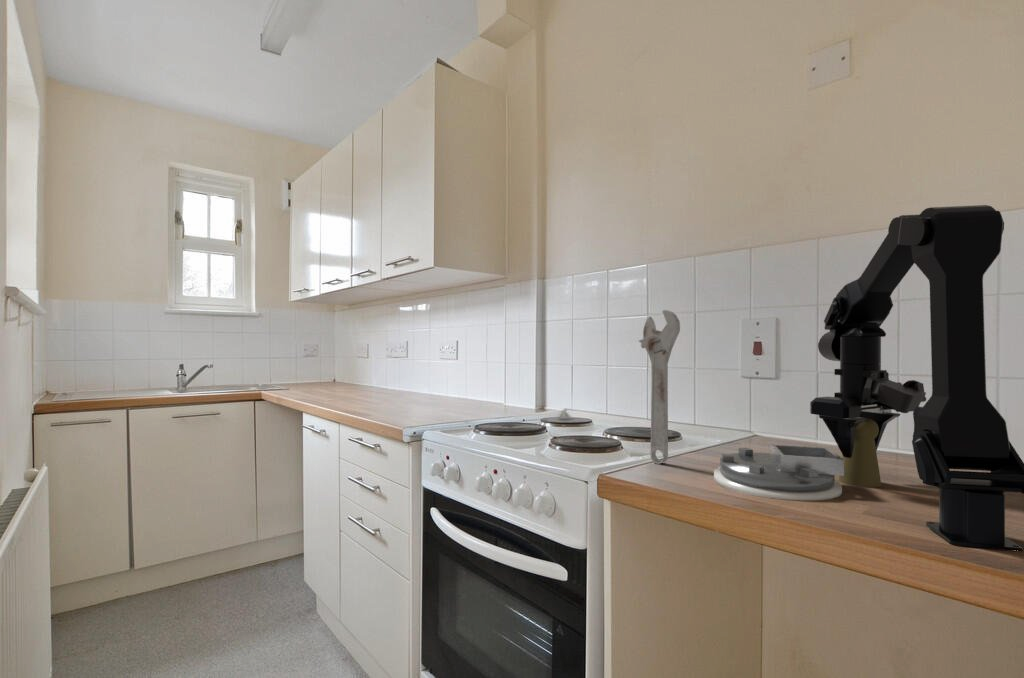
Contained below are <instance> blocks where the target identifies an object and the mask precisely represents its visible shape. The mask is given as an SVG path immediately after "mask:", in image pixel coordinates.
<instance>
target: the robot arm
mask: <svg viewBox="0 0 1024 678" xmlns="http://www.w3.org/2000/svg"><path fill="white" fill-rule="evenodd" d="M1004 221H1005V220H1004V219H1003V215H1002V213H1001V211H999V210H996V209H995V208H994V207H992V206H991V205H987V204H983V205H982V204H980V205H979V204H978V205H975V204H974V205H958V206H936V207H935V206H934V207H932V206H930V207H926V208H925V209H923V210H922V211H921V212H920V213H919V214H903V215H900V216H897V217H894V218H892V220H891V221H890V223H889V225H888V232H887V235H886V236H885V237H884V239H883V241H882V242H881V244H880V246H879V247H878V249H877V251H876V252H875V253H874V255H873V256H872V258H871V259H870V261H869V263H868V264H867V266H866V267H865V269H864V270H863V272H862V273H861V275H860V276H859V277H858V278H857V279H855V280H852V281H850V282H849V283H846V284H845V285H844V286H842V288H841V289H840V290H839V291H838V292H837V294H836V296H835V297H834V298H833V299H832V302H831V304H830V306H829V309H828V311H827V313H826V315H825V317H824V320H823V322H824V330H825V331H827V332H826V333H824V334H823V335H822V336H821V338H820V339H819V341H818V343H817V347H818V352H819V354H820V355H821V356H822V357H823V358H824V359H827V360H829V361H832V362H833V361H834V362H839V368H834V376H839V392H837V391H836V392H834V395H833V396H821V397H820V396H819V397H818V396H817V397H815V398H814V399H812V401H810V403H809V404H810V405H809V406H810V408H809V409H810V410H809V412H810V413H809V414H811V415H817V416H818V418H819V419H822V421H823V423H824V424H825V426H826V427H827V429H828V430H829V432H830V433H831V435H832V438H833V439H834V441H835V443H836V445H837V447H838V449H839V451H840V453H841V455H843V456H844V457H846V458H851V457H852V452H853V446H854V439H855V431H856V427H857V426H858V425H859V424H861V423H862V422H863V421H864V420H865V419H862V418H867V419H871V420H873V421H875V422H876V423H877V425H878V428H879V432H878V436H877V437H876V438H875V439H874V440H875V446H876V452H877V450H878V447H879V446H880V442H881V440H882V437H883V435H884V433H885V430H886V428H887V425H888V424H889V423H890V422H891V421H893V420H894V419H896V418H899V417H900V416H901V413H902V414H909V412H910V413H911V412H912V416H913V434H912V440H911V443H912V450H913V455H914V460H915V465H916V471H917V473H918V476H919V477H918V478H919V479H920V480H922V484H923V485H927V486H933V487H936V488H938V491H939V492H938V493H939V494H938V498H939V501H938V504H939V505H938V507H939V508H938V512H939V513H938V521H927V520H926V521H925V525H926V527H928V528H929V530H932V532H934V533H935V534H937V535H938V536H939V537H941V538H942V539H943V540H945V541H946V542H948V543H949V544H951V545H954V546H958V547H959V546H961V547H970V548H980V549H988V550H997V549H1001V550H1000V551H1007V550H1016V551H1017V550H1018V551H1022V552H1023V547H1022V546H1021V545H1019V544H1017V543H1016V542H1014V541H1012V540H1011V539H1010V538H1008V537H1006V493H1020V494H1024V461H1023V459H1022V458H1021V457H1020V455H1019V453H1018V452H1017V451H1016V449H1015V448H1014V446H1013V444H1012V443H1011V441H1010V439H1009V433H1008V427H1007V422H1006V420H1005V418H1004V417H1003V416H1002V414H1001V413H1000V412H999V410H997V408H996V407H995V406H994V404H992V402H991V401H990V400H989V398H988V395H987V376H986V375H987V372H986V368H987V367H986V343H985V342H986V341H985V337H986V336H985V306H984V305H985V302H984V299H985V298H984V275H985V274H986V272H987V271H988V270H989V269H990V267H991V266H992V264H993V263H994V261H995V260H996V259H997V258H998V256H999V255H1000V253H1001V251H1002V241H1003V240H1002V239H1003V234H1004V229H1005V222H1004ZM914 264H915V265H916V267H917V268H918V269H919V270H920V272H921V273H922V274H923V275H924V276H925V277H926V279H927V280H928V282H929V310H930V311H929V312H930V349H931V351H930V353H931V354H930V355H931V380H932V381H931V385H932V387H931V389H932V390H931V396H930V397H929V398H928V400H927V397H926V394H927V392H925V389H924V388H925V387H924V383H923V382H921V381H918V380H914V379H913V380H907V381H905V382H904V383H902V382H896V381H893V380H891V379H889V378H890V377H889V375H890V374H889V372H888V371H887V370H886V369H882V338H884V337H886V336H887V333H886V331H885V330H884V329H883V328H881V326H882V325H883V323H884V321H886V319H887V318H888V316H889V315H890V313H891V310H892V308H893V307H894V303H893V300H892V297H891V296H892V295H893V293H894V291H895V289H896V288H897V287H898V286H899V284H900V283H902V280H903V279H904V277H906V275H907V273H908V272H909V271H910V269H911V268H912V267H913V266H914ZM924 402H925V403H924ZM921 403H924V405H923V406H920V405H921ZM892 410H894V411H895V412H892ZM858 417H861V418H858ZM984 471H985V472H984ZM1003 549H1004V550H1003ZM1016 551H1015V552H1016Z"/></svg>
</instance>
